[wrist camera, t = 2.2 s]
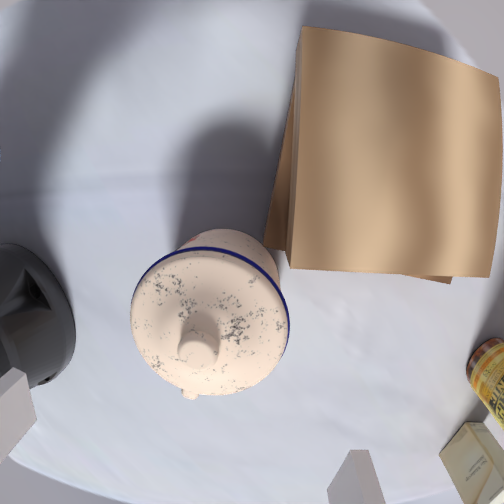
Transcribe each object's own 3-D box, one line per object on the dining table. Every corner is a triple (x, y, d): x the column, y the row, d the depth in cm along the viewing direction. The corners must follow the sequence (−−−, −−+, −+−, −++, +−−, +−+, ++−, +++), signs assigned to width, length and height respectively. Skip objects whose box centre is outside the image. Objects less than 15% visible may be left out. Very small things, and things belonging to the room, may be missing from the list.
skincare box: (464, 420, 29) (508, 484, 17) (484, 422, 29) (527, 480, 17) (436, 455, 30) (470, 521, 18) (457, 456, 30) (491, 515, 19)
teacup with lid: (184, 210, 25) (122, 235, 13) (297, 244, 25) (324, 297, 14) (154, 341, 27) (101, 425, 16) (251, 371, 28) (245, 470, 16)
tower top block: (285, 252, 22) (290, 268, 18) (296, 50, 19) (302, 25, 15) (460, 263, 21) (489, 277, 18) (469, 88, 18) (498, 77, 15)
